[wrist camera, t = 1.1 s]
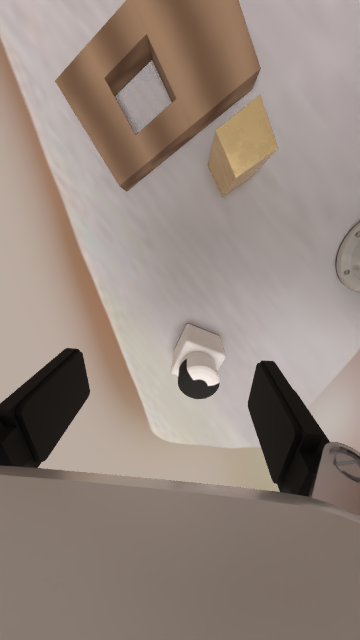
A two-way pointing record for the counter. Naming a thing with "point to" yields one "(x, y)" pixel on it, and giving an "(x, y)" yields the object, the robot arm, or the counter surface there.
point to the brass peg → (241, 146)
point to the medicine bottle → (198, 362)
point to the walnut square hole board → (174, 69)
